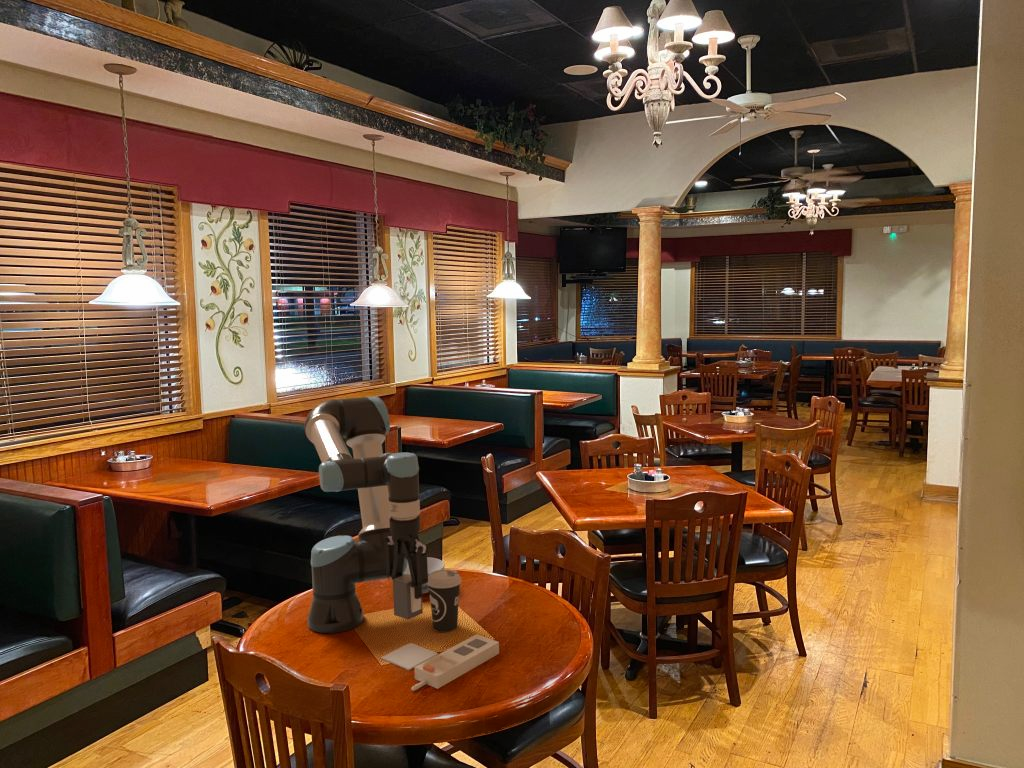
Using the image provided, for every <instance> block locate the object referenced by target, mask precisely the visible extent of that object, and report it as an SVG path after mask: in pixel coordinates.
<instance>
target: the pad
mask: <svg viewBox="0 0 1024 768" xmlns="http://www.w3.org/2000/svg"><path fill="white" fill-rule="evenodd" d="M438 654H439V653H437V652H435V651H433V650H430V649H427V648H424V647H422V646H419V645H417V644H415V643H412V642H409V643H407V644H405V645H403V646H401V647H398V648H397V649H395V650H393V651H390V652H389V653H386V654H385V655H383V656H381V658H380V660H383V661H386V662H388V663H390V664H392V665H395V666H398V667H400V668H402V669H404V670H406V671H410V670H412V669H415V667H416V666H417V665H419V664H421V663H423V662H425V661H427V660H429V659H431V658H433V657H435V656H436V655H438Z"/></svg>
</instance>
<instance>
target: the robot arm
mask: <svg viewBox="0 0 1024 768" xmlns="http://www.w3.org/2000/svg"><path fill="white" fill-rule="evenodd" d="M303 426H304V432H305V435H306V438H307V439H308V440H309V441H310V442H311V443H312V444H313V445H314V448H315V450H316V452H317V454H318V456H319V459H320V461H321V463H320V464H319V466H318V479H319V481H318V482H319V485H320V489H321V490H322V491H323V492H326V493H329V492H335V493H338V492H342V491H348V490H349V491H350V490H357V492H358V500H359V509H360V516H361V522H362V523H361V524H362V528H361V530H360V531H359V533H358V539H357V540H355V539H354V538H353V536H350V535H336V536H330V537H328V538H325V539H322V540H320V541H318V542H317V543H316V544H315V545H314V546H313V547H312V549H311V551H310V552H311V554H310V556H311V557H310V565H311V577H312V578H311V580H312V600H311V605H310V608H309V612H308V614H307V627H308V628H309V629H310V630H311V631H313V632H316V633H320V634H321V633H322V634H335V633H342V632H347V631H350V630H352V629H354V628H357V627H358V626H360V625H361V624H362V622H364V610H363V608H362V605H361V602H360V600H359V597H358V594H357V591H356V588H357V587H356V584H360V583H366V582H371V581H379V580H385V579H392V581H393V580H394V579H395V578H398V577H400V576H403V573H404V572H405V570H406V567H407V562H408V565H409V570H410V575H411V579H412V584H413V585H410V593H411V612H415V611H418V610H420V609H421V597H422V598H423V593H422V585H423V584H426V583H428V566H427V557H428V550H429V544H428V543H425V544H424V543H422V542H421V541H420V537H419V533H420V531H421V530H422V529H421V517H420V514H421V507H420V505H421V503H420V481H419V480H420V479H419V478H420V476H419V473H420V472H419V471H420V466H419V461H418V459H419V458H418V455H416V454H415V453H413V452H407V451H406V452H402V451H401V452H395V453H392V452H386V453H383V445H382V444H383V443H384V442H385V440H386V435H387V434H389V433H390V428H391V424H390V415H389V411H388V408H387V406H386V403H385V402H384V401H383V400H382V399H381V398H380V397H378V396H363V397H361V396H360V397H351V398H349V397H346V398H335V399H333V398H332V399H327V400H325V401H322V402H320V403H318V404H317V405H316V406H314V407H313V408H312V409H311V410H310V411H309V413H308V414H307V416H306V418H305V422H304V425H303ZM344 438H345V441H344ZM347 446H348V447H350V448H351V449H352V454H353V457H352V455H351V453H350V451H349V448H348V447H347Z"/></svg>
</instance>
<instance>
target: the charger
mask: <svg viewBox="0 0 1024 768" xmlns="http://www.w3.org/2000/svg"><path fill="white" fill-rule="evenodd" d="M410 585H413V584H412V579H411V575H410V574H406V575H403V576H400V577H398V578H395V579H394V580H392V592H393V593H392V595H393V596H392V597H393V598H392V599H393V615H394V616H396V617H399V618H402V619H405V620H406V621H407V620H410V619H412V618H415V617H418V616H420V615H421V614H423V613H424V612H423V610H424V609H423V596H422V597H421V609H420V610H418V611H415V612H411V593H410Z"/></svg>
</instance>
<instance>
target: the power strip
mask: <svg viewBox="0 0 1024 768" xmlns="http://www.w3.org/2000/svg"><path fill="white" fill-rule="evenodd" d="M499 654H500V642H499V641H497V640H495V639H491V638H489V637H485V636H482V635H480V634H475V635H473V636H470V637H468V638H466V639H464V640H463V641H461V642H460V643H458V644H455V645H454V646H452V647H450V648H448V649H446V650H444V651H442V652H441V653H438V655H436V656H435V657H433V658H431V659H429V660H427V661H425V662H423V663H421V664H419V665H417V666H416V667H415V668H414V680H416V681H419V683H416V684H414V685H413V686H412V687H411V691H412V692H415V691H417V690H419V689H420V688H422V687H424V686H425V685H428V686H430V687H432V688H435V689H437V690H438V689H440V688H441V687H443V686H446V685H447V684H449V683H450V682H452V681H454V680H455V679H458V678H459V677H461V676H462V675H464V674H466V673H468V672H470V671H472V670H474V668H476V667H479V666H480V665H482V664H483V663H485V662H487V661H489V660H491V659H492V658H494V657H495V656H497V655H499Z"/></svg>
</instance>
